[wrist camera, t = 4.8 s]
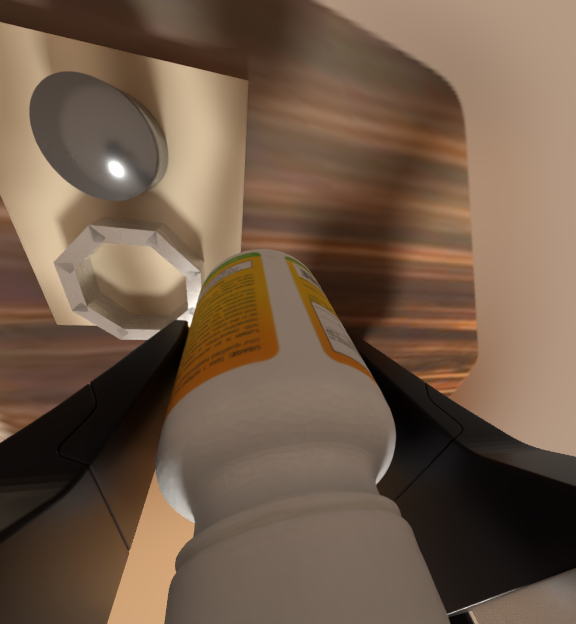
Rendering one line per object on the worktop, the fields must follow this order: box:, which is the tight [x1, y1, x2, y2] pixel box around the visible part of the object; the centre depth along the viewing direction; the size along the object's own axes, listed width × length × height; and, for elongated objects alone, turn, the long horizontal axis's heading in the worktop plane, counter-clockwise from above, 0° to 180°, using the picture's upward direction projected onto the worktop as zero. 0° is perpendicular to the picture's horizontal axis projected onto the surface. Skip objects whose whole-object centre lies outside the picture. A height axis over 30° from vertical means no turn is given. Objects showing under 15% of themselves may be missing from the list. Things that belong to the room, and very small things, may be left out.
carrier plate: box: [0, 22, 249, 327], centre depth 17 cm, size 14×17×1 cm
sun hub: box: [29, 71, 169, 201], centre depth 13 cm, size 5×5×3 cm
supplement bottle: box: [156, 249, 450, 624], centre depth 7 cm, size 5×5×10 cm
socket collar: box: [53, 217, 205, 340], centre depth 18 cm, size 9×9×2 cm
